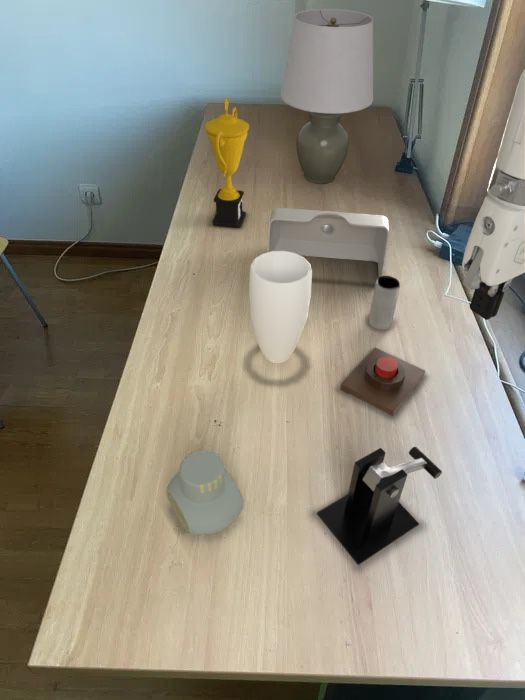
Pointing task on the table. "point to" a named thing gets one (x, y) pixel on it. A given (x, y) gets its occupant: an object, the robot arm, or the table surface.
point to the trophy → (228, 165)
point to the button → (386, 367)
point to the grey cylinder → (384, 302)
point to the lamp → (327, 83)
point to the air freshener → (204, 494)
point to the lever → (383, 471)
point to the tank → (330, 234)
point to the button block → (382, 383)
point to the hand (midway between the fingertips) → (482, 312)
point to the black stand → (369, 512)
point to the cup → (279, 302)
